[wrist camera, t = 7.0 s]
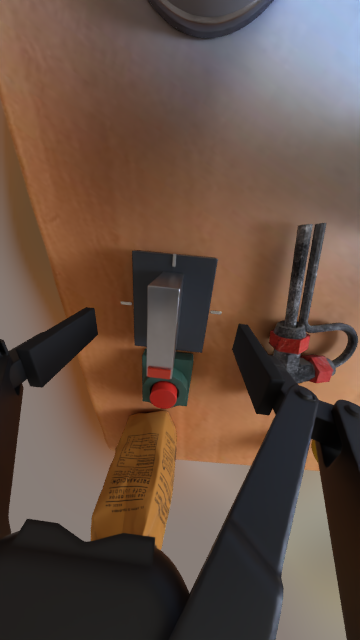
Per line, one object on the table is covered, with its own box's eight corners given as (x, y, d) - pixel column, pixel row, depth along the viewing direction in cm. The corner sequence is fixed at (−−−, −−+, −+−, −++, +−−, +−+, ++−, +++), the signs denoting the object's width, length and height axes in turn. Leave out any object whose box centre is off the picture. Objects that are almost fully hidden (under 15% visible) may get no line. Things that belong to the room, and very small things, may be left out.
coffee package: (137, 445, 38) (79, 663, 18) (125, 407, 34) (27, 647, 13) (180, 445, 38) (168, 674, 17) (173, 406, 33) (146, 662, 13)
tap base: (126, 248, 22) (117, 248, 19) (227, 258, 21) (232, 259, 19) (129, 336, 27) (123, 345, 24) (210, 345, 27) (212, 355, 24)
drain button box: (145, 348, 28) (138, 363, 24) (193, 353, 27) (193, 369, 24) (145, 392, 32) (139, 411, 28) (186, 397, 31) (186, 416, 28)
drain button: (152, 379, 25) (149, 388, 24) (178, 382, 25) (177, 391, 24) (151, 397, 27) (149, 407, 25) (176, 400, 27) (175, 410, 25)
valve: (320, 383, 30) (241, 394, 30) (363, 223, 21) (250, 232, 21) (358, 413, 25) (260, 428, 24) (440, 209, 15) (285, 221, 15)
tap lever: (163, 271, 20) (146, 285, 12) (183, 273, 20) (179, 289, 12) (160, 336, 24) (145, 378, 16) (177, 338, 24) (171, 381, 16)
